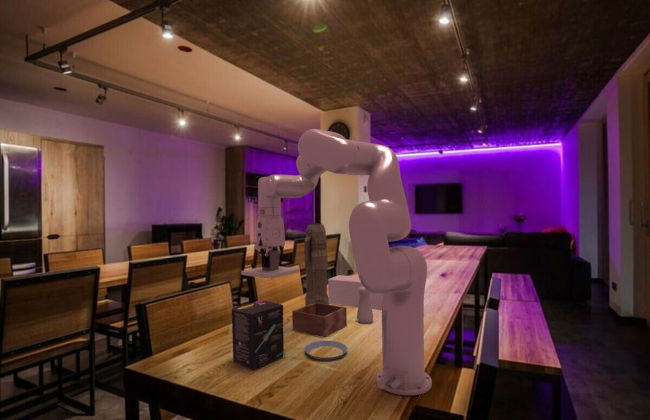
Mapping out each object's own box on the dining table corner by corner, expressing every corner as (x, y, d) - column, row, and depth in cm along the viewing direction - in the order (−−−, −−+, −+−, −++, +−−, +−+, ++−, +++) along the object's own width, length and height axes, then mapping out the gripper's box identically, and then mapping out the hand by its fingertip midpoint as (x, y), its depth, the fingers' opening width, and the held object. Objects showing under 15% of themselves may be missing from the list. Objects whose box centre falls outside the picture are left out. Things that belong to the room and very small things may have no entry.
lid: (271, 278, 114) (271, 254, 114) (241, 274, 122) (240, 251, 122) (299, 272, 125) (298, 249, 125) (269, 268, 133) (269, 247, 133)
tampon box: (262, 349, 105) (262, 299, 105) (285, 357, 99) (284, 303, 99) (231, 361, 97) (230, 307, 97) (253, 371, 91) (252, 313, 91)
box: (324, 339, 112) (324, 317, 112) (292, 332, 119) (292, 311, 119) (346, 328, 122) (346, 307, 122) (315, 321, 130) (315, 302, 130)
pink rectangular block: (409, 306, 149) (408, 280, 149) (402, 313, 139) (401, 285, 139) (339, 298, 163) (338, 275, 163) (328, 304, 154) (328, 279, 154)
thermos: (298, 317, 136) (297, 224, 136) (315, 309, 146) (313, 222, 146) (318, 320, 131) (317, 224, 131) (334, 312, 142) (333, 223, 142)
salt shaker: (372, 326, 123) (372, 288, 123) (356, 325, 124) (355, 288, 124) (373, 321, 129) (373, 285, 129) (357, 320, 130) (357, 284, 130)
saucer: (354, 353, 102) (354, 345, 102) (332, 369, 92) (332, 360, 92) (320, 345, 108) (320, 337, 108) (296, 359, 98) (295, 351, 98)
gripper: (260, 213, 115) (260, 271, 115) (293, 212, 128) (294, 264, 128) (243, 213, 119) (244, 269, 119) (278, 212, 133) (278, 262, 133)
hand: (270, 265), depth 124 cm, fingers closed on lid, 4 cm apart
